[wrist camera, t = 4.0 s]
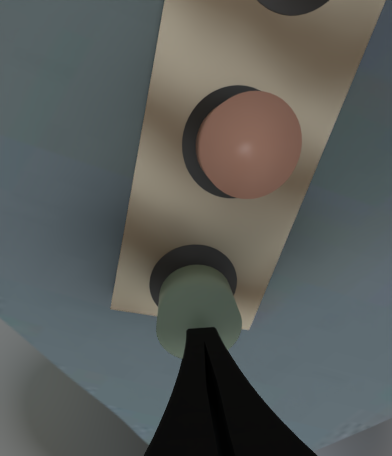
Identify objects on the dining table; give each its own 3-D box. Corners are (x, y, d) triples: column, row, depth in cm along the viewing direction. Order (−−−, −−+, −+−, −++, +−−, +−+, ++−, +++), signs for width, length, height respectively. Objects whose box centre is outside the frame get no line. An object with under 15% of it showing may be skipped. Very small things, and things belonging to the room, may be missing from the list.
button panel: (201, -185, 10) (206, -240, 9) (401, -83, 12) (434, -115, 10) (115, 295, 18) (110, 310, 16) (243, 316, 19) (249, 331, 18)
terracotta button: (208, 88, 12) (217, 75, 9) (289, 114, 13) (318, 108, 10) (186, 176, 13) (189, 186, 11) (260, 195, 14) (279, 208, 12)
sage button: (167, 258, 14) (166, 285, 11) (239, 271, 15) (253, 300, 12) (152, 319, 15) (148, 355, 13) (219, 329, 16) (227, 365, 14)
